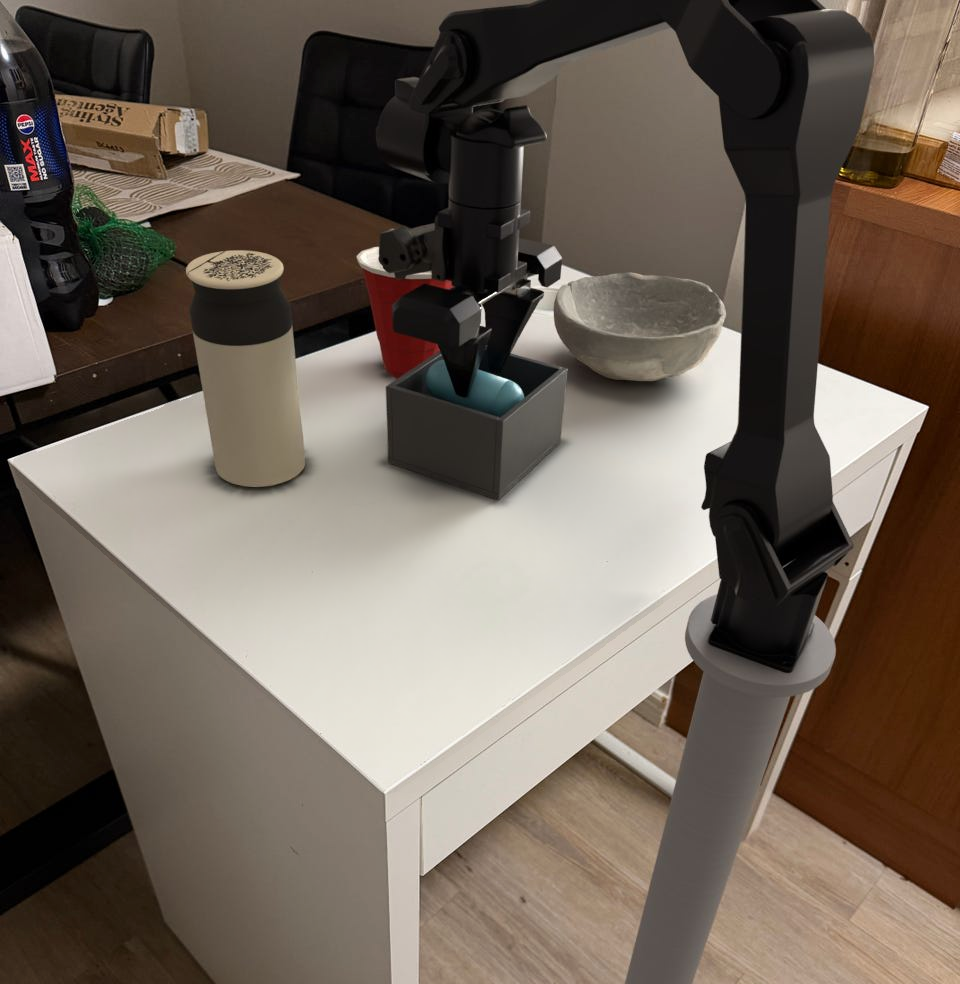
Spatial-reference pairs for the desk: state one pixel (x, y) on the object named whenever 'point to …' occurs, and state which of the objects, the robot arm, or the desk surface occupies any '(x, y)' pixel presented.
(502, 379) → the teal capsule pill
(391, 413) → the wastebin
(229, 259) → the travel mug
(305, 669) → the desk surface
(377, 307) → the plastic cup
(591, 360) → the bowl
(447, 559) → the desk surface
